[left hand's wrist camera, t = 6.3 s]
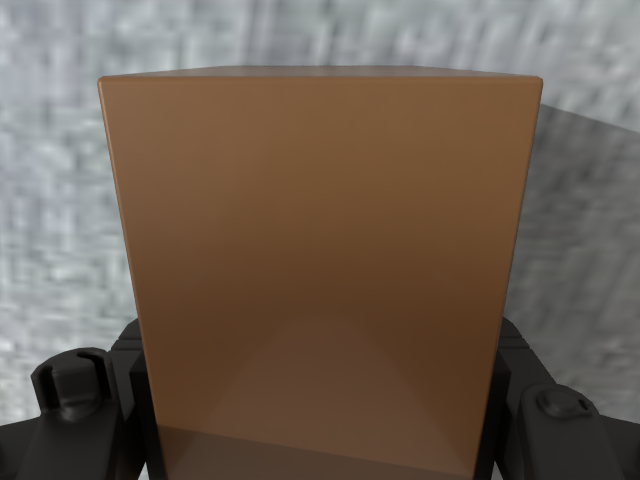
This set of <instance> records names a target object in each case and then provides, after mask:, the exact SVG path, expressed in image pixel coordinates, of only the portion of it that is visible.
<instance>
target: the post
mask: <svg viewBox="0 0 640 480" xmlns="http://www.w3.org/2000/svg"><path fill="white" fill-rule="evenodd" d="M97 86H98V91H99V97H100V103H101V109H102V114H103V120H104V126H105V131H106V137H107V143H108V149H109V154H110V160H111V166H112V171H113V177H114V183H115V189H116V194H117V200H118V206H119V211H120V217H121V223H122V229H123V234H124V240H125V246H126V251H127V257H128V263H129V269H130V274H131V280H132V286H133V291H134V297H135V303H136V309H137V314H138V320H139V326H140V331H141V337H142V343H143V349H144V354H145V360H146V366H147V371H148V377H149V383H150V389H151V394H152V400H153V406H154V411H155V417H156V423H157V429H158V434H159V440H160V446H161V451H162V457H163V463H164V469H165V474H166V480H474V477H475V471H476V466H477V460H478V454H479V448H480V443H481V437H482V431H483V426H484V420H485V414H486V408H487V403H488V397H489V391H490V386H491V380H492V374H493V368H494V363H495V357H496V351H497V346H498V340H499V334H500V328H501V323H502V317H503V311H504V306H505V300H506V294H507V288H508V283H509V277H510V271H511V266H512V260H513V254H514V248H515V243H516V237H517V231H518V226H519V220H520V214H521V208H522V203H523V197H524V191H525V186H526V180H527V174H528V168H529V163H530V157H531V151H532V146H533V140H534V134H535V128H536V123H537V117H538V111H539V106H540V100H541V94H542V88H543V79H542V78H540V77H538V76H530V75H517V74H505V73H493V72H481V71H469V70H457V69H445V68H433V67H421V66H218V67H207V68H195V69H183V70H171V71H160V72H148V73H136V74H124V75H112V76H103V77H101V78H99V79H98V83H97Z"/></svg>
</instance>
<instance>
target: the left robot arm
mask: <svg viewBox="0 0 640 480" xmlns="http://www.w3.org/2000/svg"><path fill="white" fill-rule="evenodd" d="M31 380H32V383H33V386H34V390H35V393H36V397H37V400H38V403H39V407H40V410H41V415H40V417H36V418H33V419H30V420H25V421H21V422H16V423H12V424H7V425H3V426H0V480H138V478H139V476H140V473H141V471H142V469H143V467H144V464H145V462H146V465H147V470H148V475H149V480H166V474H165V469H164V463H163V457H162V451H161V446H160V440H159V434H158V429H157V423H156V417H155V411H154V406H153V400H152V394H151V389H150V383H149V377H148V371H147V366H146V360H145V354H144V349H143V343H142V337H141V331H140V326H139V320H138V318H137V319H135V320H134V321H132V322H131V323H129V324H128V325H127V326H126V328H125V329H124V331H123V332H122V333H121V335H120V336H119V339H118V340H116V342H115V343H114V344H113V346H112V347H111V351H108V352H106V351H105V350H103V349H99V348H94V347H90V348H77V349H73V350H69V351H65V352H62V353H60V354H58V355H56V356H53V357H51V358H49V359H48V360H46V361H45V362H43V363H42V364H41V365H39V366H38V367H37V368H36V369H35V371H34V372H33V373H32V374H31ZM494 461H496V464H497V466H498V468H499V471H500V473H501V475H502V478H503V480H640V424H637V423H633V422H628V421H624V420H619V419H614V418H610V417H607V416H603V415H600V414H599V412H598V410H597V409H596V407H595V406H594V404H593V403H592V402H591V401H590V400H588V399H587V398H586V397H585V396H584V395H582V394H581V393H579V392H577V391H575V390H573V389H571V388H569V387H567V386H564V385H560V384H557V383H556V382H555V381H554V379H553V378H552V377H551V375H550V374H549V372H548V371H547V370H546V368H545V367H544V366H543V364H542V363H541V361H540V360H539V359H538V357H537V356H536V355H535V353H534V352H533V350H532V349H530V346H529V345H528V344H527V342H526V341H525V339H524V338H522V335H521V334H520V333H519V331H518V330H517V328H516V327H515V326H514V324H513V323H512V322H510V321H509V320H507V319H506V318H504V317H502V323H501V328H500V334H499V340H498V346H497V351H496V357H495V363H494V368H493V374H492V380H491V386H490V391H489V397H488V403H487V408H486V414H485V420H484V426H483V431H482V437H481V443H480V448H479V454H478V460H477V466H476V471H475V477H474V480H491V477H492V472H493V467H494Z"/></svg>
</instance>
